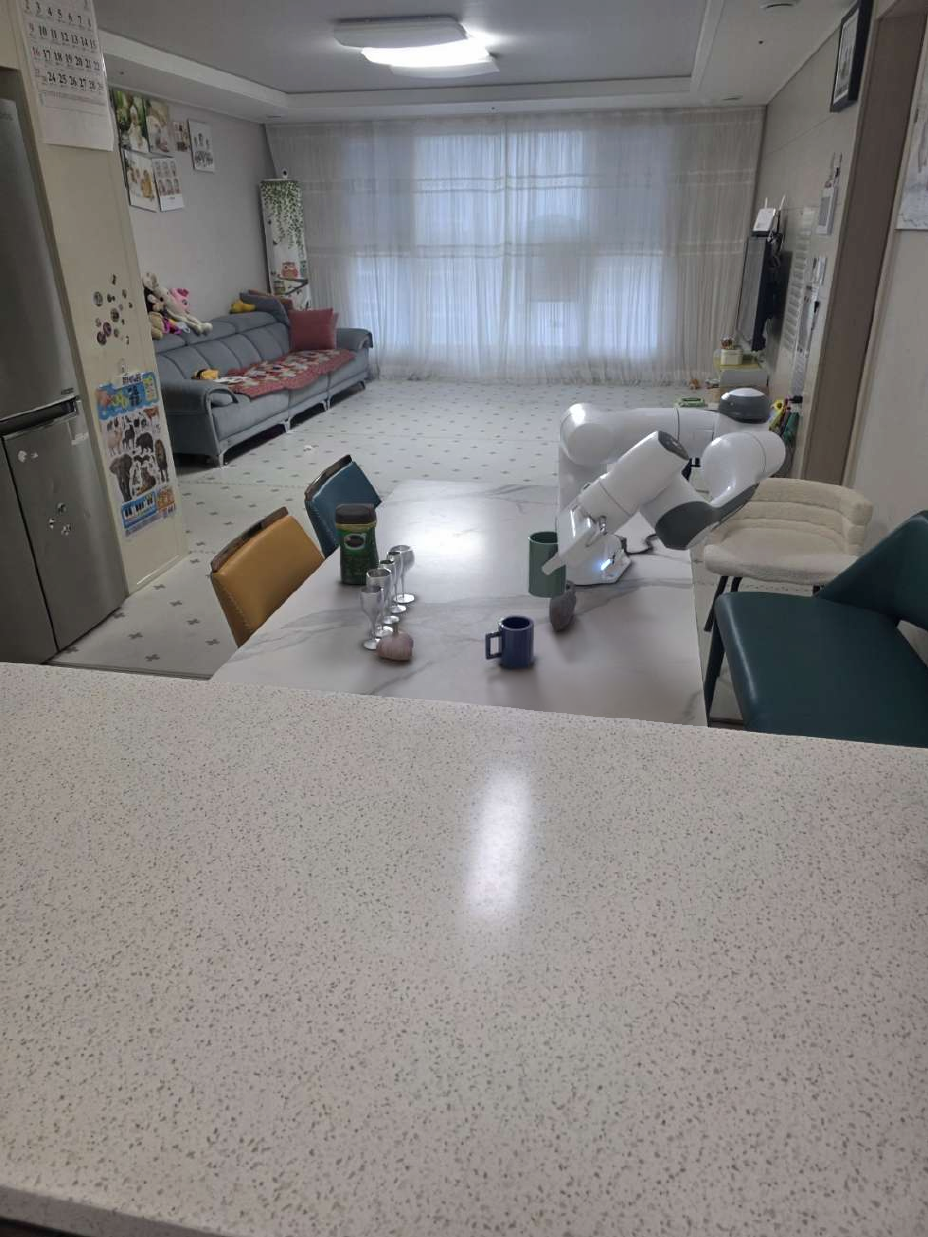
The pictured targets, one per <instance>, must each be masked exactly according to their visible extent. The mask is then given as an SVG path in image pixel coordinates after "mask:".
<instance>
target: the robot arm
mask: <svg viewBox="0 0 928 1237" xmlns="http://www.w3.org/2000/svg"><path fill="white" fill-rule="evenodd" d="M770 400H771V399H770V397H768V396H767V394H766V393H765V392H763V391H760V390H757V389H755V388H752V387H741V388H735V389H733V390H728V391H727V392H726V393H724V394H723V395H722V396H721V397H720V399H719V402H718V405H717V409H716V411H717V412H716V411H710V410H706V409H699V408H691V407H690V408H689V407H637V408H633V409H629V410H628V409H627V410H622V411H621V410H620V411H613V412H612V411H611V412H603V410H602V409H601V408H600V407H598V406H596V405H595V404H593V403H589V402H579V403H575V404H573V405H572V406H570V407H568V408H567V409H566V410H565V412H564V413H563V414H562V416H561V418H560V420H559V425H558V490H557V491H558V492H557V515H556V516H555V521H554V531H555V532H557V541H558V552H557V553H556V554H555V556H554V557H552V558H551V559H550V560H547V561H546V562H545V563H543V564H542V571H543V572H544V573H545V574H547V575H549V574H551V573H552V572H553V571H554V570H555V569H557V568H560V567H562V566H564V565H566V566H567V576H566V579H567V580H570V581H573V583H574V585H575V586H576V585H577V586H587V585H596V584H615V583H616V581H617V580H618V579H620V577H621V576H622V574H623V573H624V572H625V570H626V569H627V568H628V567H629V566H630V564H631V558H629V557H628V556H633V555H642V554H646V553H648V552H649V551H652V549H653V547H654V546H653V544H652V542H651V541H650V539H651V538H655V537H658V539H659V541H660V542H661V543H662V545H663V546H664V548H666V549H669V550H674V551H679V552H680V551H681V552H685V551H687V550H690V549H692V548H694V547H696V546H697V545H699V544H700V543H701V542H703V541H704V540H705V539H706V538H707V537H708V536H709V534H710V533H711V532H712V531H714V530H716V529H717V528H718V527H719V526H721V525H722V524H724V523H725V522H727V521H728V520H729V519H730V518H731V517H733V516H734V515H736V514H737V513H738V512H740V510H742V509H743V508H744V507H745V506H746V505H747V504H748V503H749V502H750V500H751V499H752V498H753V497H754V495H755V493H756V490H757V489H758V488H759V486H760V484H761V483H762V482H764V481H765V480H767V479H769V478H770V477H772V476H773V475H775V474H776V473H777V472H778V471H779V470H780V469H781V467H782V466H783V464H784V463H785V460H786V453H787V452H786V447H785V442H784V441H783V439H782V438H781V437H780V435H779V434H777V433H775V432H774V431H772V430H770V418H771V415H772V406H771V401H770ZM690 459H700V475H701V479H702V482H703V483H704V485H705V487H706V488H707V490H708V492H709V493H710V495H711V497H712V499H713V500H711V501H707V500H706V499H705V498H703V496H702V495H700V494H699V493H698V492H697V490H696V489H695V488H694V487H693V485H691V483H690V482H689V481H688V480H687V479H686V477H685V476H683V474H682V473H681V472H682V471H683V470H684V469H685V468H686V466H687V465H688V464H689V462H690ZM614 463H615V464H614ZM608 464H614V465H613V467H612V468H611V469H610V470H609V471H608ZM638 512H639V514H640V515H641V516H642V517H643V518H644V520H645V521H646V522H647V523H648V525H649V526H650V527H651V528H652V530H653V531H654V533H651V534H648V535H647V536H646V537H645V542H646V544H647V545H648V546H649V547H647V548H644V549H642V550H640V551H636V552H630V551H628V543H627V542H628V539H627V537H625V536H622V535H618V534H616V533H617V532H618V531H619V530H620V529H621V528H622V527H623V526H625V525H626V524H627V523H628V522H629V521H630V520H632V519H633V518H634V517H635V516H636V514H637V513H638ZM622 550H623V553H624V554H625V555H627V556H625V555H623V554H622Z"/></svg>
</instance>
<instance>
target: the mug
mask: <svg viewBox="0 0 928 1237" xmlns="http://www.w3.org/2000/svg"><path fill="white" fill-rule="evenodd" d="M497 625H498V627H497V628H498V630H497V631H492V632H488V633H485V636H484V644H485V645H484V649H485V653H484V654H485V656H484V658H485V659H486V660H487V661H489V660H494V659H497V660H498V663H499V664H500V665H501V666H502V667H504V668H506V669H507V668H508V669H512V670H513V669H514V670H515V669H516V670H518V669H525V668H529V666H531V665H533V663H534V644H535V643H534V642H535V641H534V640H535V632H534V631H535V621H534V620H533V619H532V618H530V617H528V616H526V615H519V614H517V615H516V614H515V615H514V614H513V615H507V616H503V617H502V618H500V619H499V620H498V621H497ZM495 638H497V643H498V644H497V650H498V651H497V652H493V653H492V652H491V650H492V648H491V647H492V646H491V644H492V642H491V641H492V640H491V639H495Z"/></svg>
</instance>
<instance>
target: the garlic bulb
mask: <svg viewBox="0 0 928 1237" xmlns="http://www.w3.org/2000/svg"><path fill="white" fill-rule="evenodd" d="M398 623H399V621H397V620H392V624H391V626H392V627H391V628H392V629H393V633H391V634H389V635H385V636H383V637H379V639H380V640H379V641H378V643H377V645H376V649H375V652H376V654H377V655H378V656H379V657H383V658H385V659H390V660H395V661H408V660H410V659H411V658H412V656H413V648H414V639H413V637H412V635H410V634H409V633H407V632H405V631H402V630H399V624H398Z"/></svg>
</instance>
